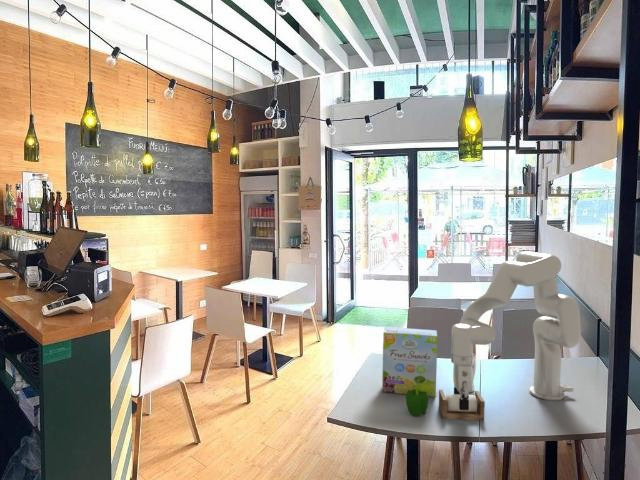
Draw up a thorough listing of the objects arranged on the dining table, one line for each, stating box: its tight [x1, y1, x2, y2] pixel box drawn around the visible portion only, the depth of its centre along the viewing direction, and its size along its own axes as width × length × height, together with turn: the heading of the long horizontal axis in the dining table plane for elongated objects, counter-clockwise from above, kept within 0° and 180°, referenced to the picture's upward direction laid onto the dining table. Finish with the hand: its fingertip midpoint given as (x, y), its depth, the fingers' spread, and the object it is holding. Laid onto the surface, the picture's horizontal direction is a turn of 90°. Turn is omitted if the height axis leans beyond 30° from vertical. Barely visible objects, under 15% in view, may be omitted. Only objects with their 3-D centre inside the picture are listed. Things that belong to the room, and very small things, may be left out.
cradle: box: [438, 389, 485, 421], centre depth 163 cm, size 14×9×7 cm, turn 84°
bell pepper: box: [405, 385, 430, 417], centre depth 164 cm, size 8×8×10 cm
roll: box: [445, 393, 477, 412], centre depth 163 cm, size 10×6×6 cm, turn 84°
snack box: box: [381, 326, 438, 398], centre depth 182 cm, size 22×9×26 cm, turn 77°
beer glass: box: [463, 352, 477, 393], centre depth 184 cm, size 7×7×15 cm
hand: (460, 403), depth 163 cm, fingers open, 9 cm apart
